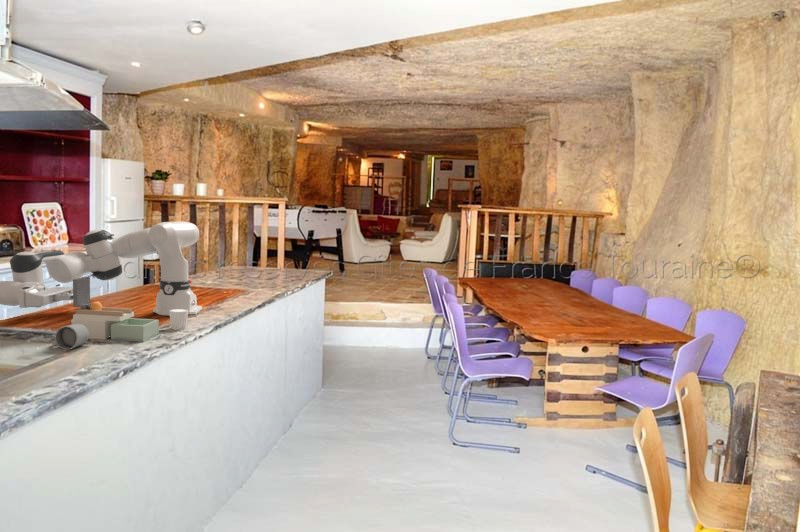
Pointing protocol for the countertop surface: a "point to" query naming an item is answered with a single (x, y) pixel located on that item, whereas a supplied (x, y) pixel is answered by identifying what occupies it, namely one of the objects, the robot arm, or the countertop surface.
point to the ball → (96, 306)
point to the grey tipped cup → (71, 336)
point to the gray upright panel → (81, 293)
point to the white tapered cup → (178, 319)
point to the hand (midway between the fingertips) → (72, 297)
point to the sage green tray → (134, 329)
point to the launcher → (100, 320)
